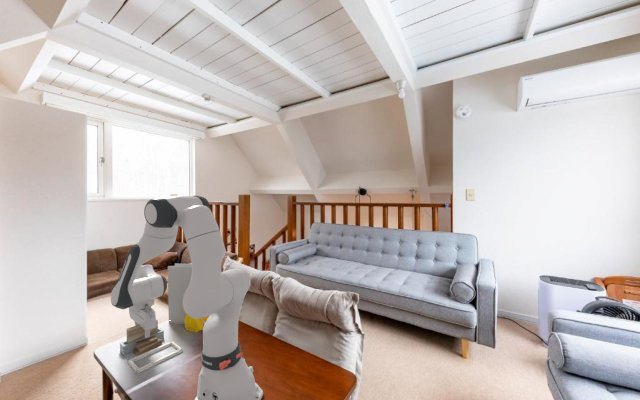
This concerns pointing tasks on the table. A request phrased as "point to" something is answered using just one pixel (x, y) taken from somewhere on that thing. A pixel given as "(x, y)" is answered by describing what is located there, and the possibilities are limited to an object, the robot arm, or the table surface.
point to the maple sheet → (138, 332)
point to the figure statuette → (194, 323)
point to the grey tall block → (178, 290)
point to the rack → (128, 348)
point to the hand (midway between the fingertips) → (142, 333)
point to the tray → (137, 370)
